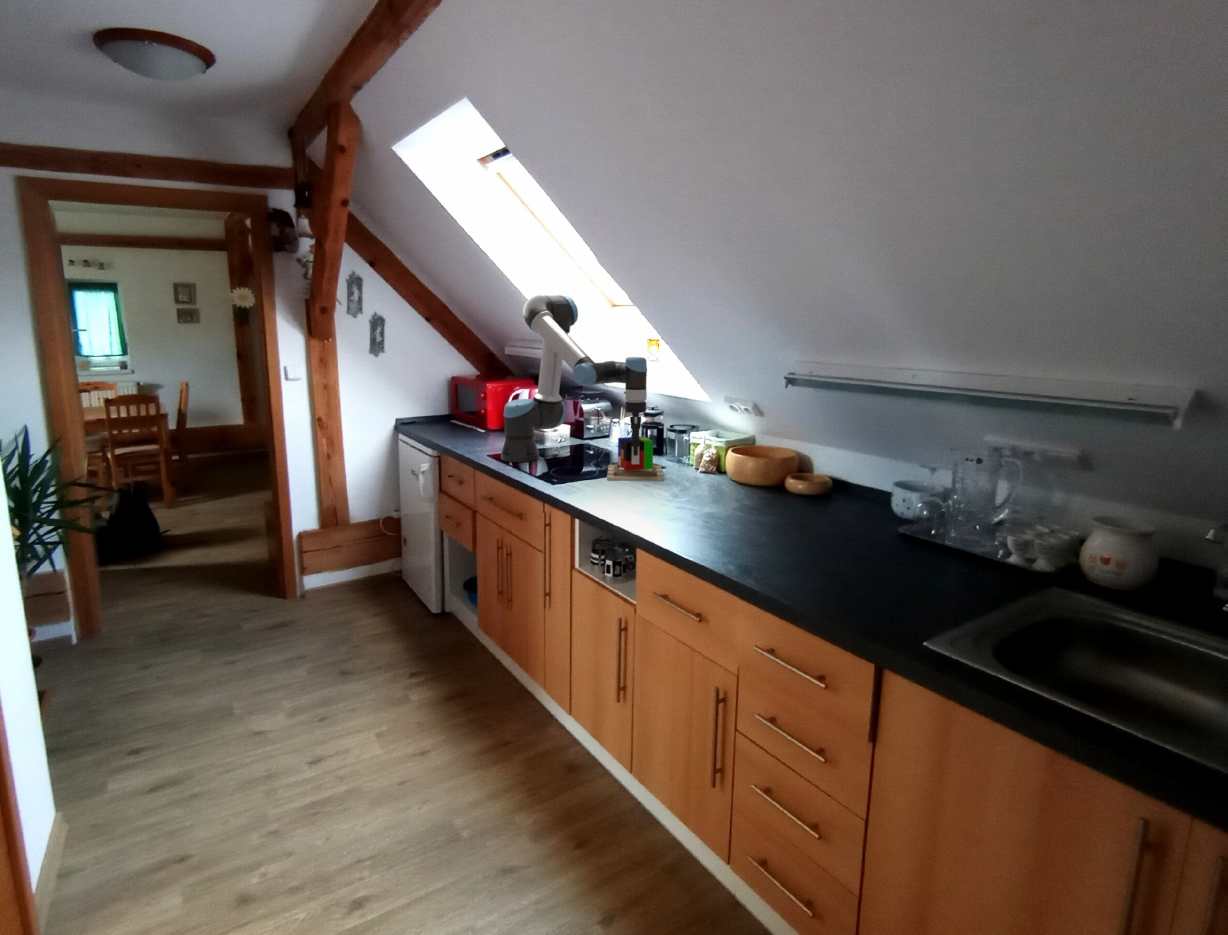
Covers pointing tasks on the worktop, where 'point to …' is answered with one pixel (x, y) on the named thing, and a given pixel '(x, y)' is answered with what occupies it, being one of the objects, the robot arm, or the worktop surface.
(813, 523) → the worktop surface
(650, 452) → the puzzle toy
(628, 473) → the locating board
